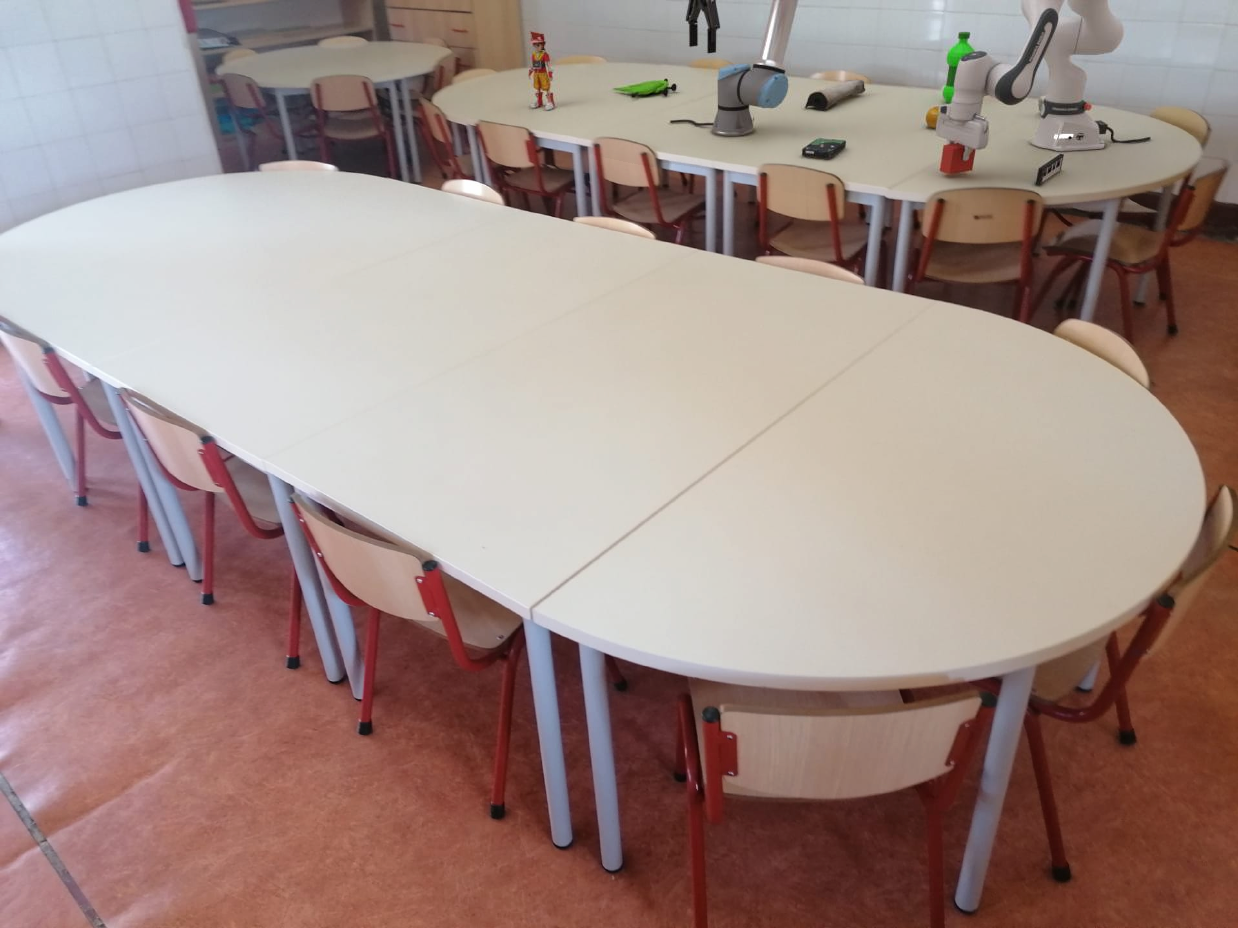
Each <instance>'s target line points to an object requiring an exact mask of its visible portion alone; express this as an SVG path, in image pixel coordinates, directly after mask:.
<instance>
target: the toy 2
mask: <svg viewBox="0 0 1238 928" xmlns="http://www.w3.org/2000/svg"><path fill="white" fill-rule="evenodd" d="M669 85H670V83H669V79H668V78H664V79H663V80H649V81H644V82H640V83H634V84H629V85H627V86H621V87H613V88H612V89H613V90H616V91H619V92H623V93H627V94H628V93H629V94H631V95H630V96H631V98H632V99H634V98H636V96H637V95H650V94H652V93H654V94H658V93H662V95H663V96H665V97H667V96H668V95H669V90H671V91H672V92H676V91H677V84H676V83H672V84H671V86H669Z"/></svg>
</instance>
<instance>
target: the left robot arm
mask: <svg viewBox="0 0 1238 928" xmlns="http://www.w3.org/2000/svg"><path fill="white" fill-rule="evenodd" d="M798 2H799V0H772V1H771V6H770V10H769V15H768V19H767V23H766V27H765V31H764V36H763V40H762V43H761V49H760V52H759V57H758V59H757V60H756V61H755V62H753V64H752V67H751V64H750V63H737V64H736V63H735V64H730V65H725V66H722V67H720V68H719V70H718V73H717V74H718V75H717V111H716V114H715V118H714V120H713V122H696V121H695V120H692V119H674V120H673V119H672V120H671V119H670V120H669V123H670V124H675V123H677V124H678V123H691V124H693V125H694V126H698V127H703V126H704V127H705V126H706V127H707V126H710V127H711V126H712V133H713V134H715V135H717V136H721V137H741V136H746V135H750V134H752V133H754V121H755V117H752V115H751V111H750V106H751V107H757V108H758V107H759V108H762V109H775V108H778V107H779V106H780V105H781V104H782V103H783V101H784V100H785V98H786V96H787V94H788V92H789V91H788V90H789V79H788V76H787V75H786V68H785V66H784V60H785V56H786V52H787V47H788V44H789V40H790V35H791V31H792V27H793V23H794V19H795V15H796V10H797V7H798ZM701 11H702V12H703V14H704V18H705V21H706V24H707V30H706V31H707V35H706V36H707V38H706V39H707V43H706V44H707V46H706V48H707V50H706V51H707V52H706V53H707V54H714V53H717V31H718V30H719V29H721V24H720V23H721V22H720V17H719V12H718V8H717V0H688V4H687V9H686V16H685V22H687V23H688V42H689V43H688V47H689V48H693V47H698V45H699V32H698V31H699V30H698V29H699V27H698V23H699V21H698V19H699V16H700V14H701Z"/></svg>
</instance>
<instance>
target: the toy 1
mask: <svg viewBox="0 0 1238 928" xmlns="http://www.w3.org/2000/svg"><path fill="white" fill-rule="evenodd" d="M529 33H530V35H531V36H528V37H527V38H528V39H529V40H528V41H527V43H529V44H530V43H531V44H532V48H533V50H534V51H533V52H532V55H531V58H530V59H531V63H530V66H528V74H527V75H528V76H527V77H528V79H529V80H531V75H532V74H533V84H532V85H533V86H532V87H533V88H534V89H535V90H536V92H534V95H535V97H536V100H535V101H533V102H531V105H530V108H531V109H535V108H538V107H542V106H544V101H543V100H544V99H543V95H544V92H546V94H545V97H546V99H547V103H546V104H545V106H544V110H546V111H549V110H553V109H554V107H555V106H556V105H555V99H554V92H551V91H550V90H551V86H552V84H551V82H552V81H553V80H554V77H553V73H554V71H555V70H554V69H552V68H551V63H550V61H551V59H550V58H551V57H550V54H549V53H548V52H547V50H546V48H545V46H546V44H547V41H545V35H544V33H543V32H542V33H539V32H535V31H529Z"/></svg>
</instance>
